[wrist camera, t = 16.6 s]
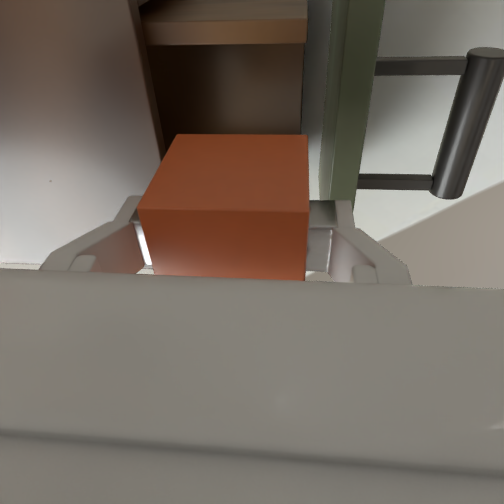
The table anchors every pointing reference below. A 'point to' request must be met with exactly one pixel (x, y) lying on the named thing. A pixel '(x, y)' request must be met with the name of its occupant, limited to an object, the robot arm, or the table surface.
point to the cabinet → (71, 121)
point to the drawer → (291, 84)
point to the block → (229, 207)
